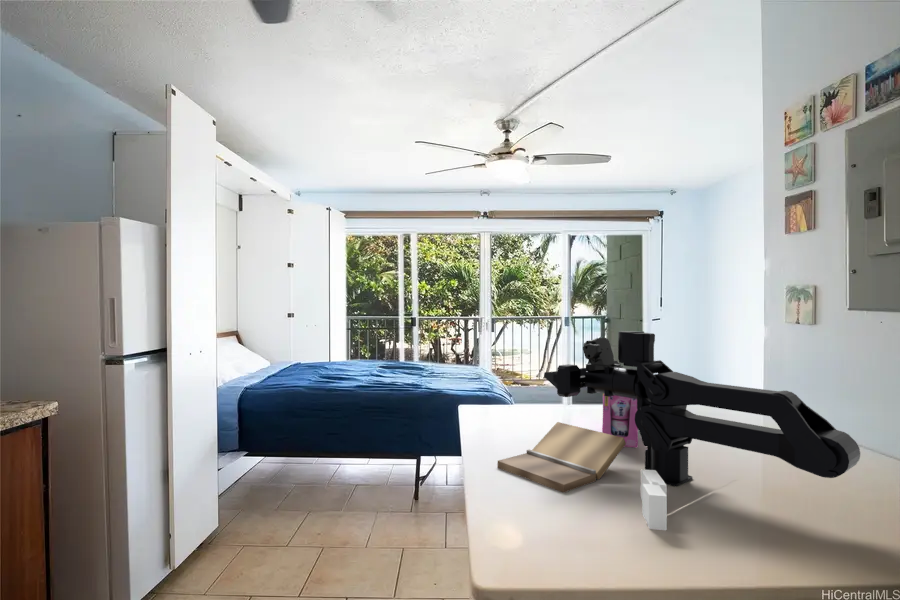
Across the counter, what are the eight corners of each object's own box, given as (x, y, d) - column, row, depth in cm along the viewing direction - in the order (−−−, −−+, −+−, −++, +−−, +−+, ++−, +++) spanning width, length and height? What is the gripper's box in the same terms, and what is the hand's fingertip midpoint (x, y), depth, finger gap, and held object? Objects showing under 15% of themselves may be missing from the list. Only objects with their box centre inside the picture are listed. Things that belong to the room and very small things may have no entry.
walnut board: (595, 481, 88) (595, 470, 88) (563, 493, 83) (563, 480, 83) (529, 459, 101) (529, 449, 101) (497, 468, 95) (497, 457, 95)
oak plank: (625, 443, 94) (623, 437, 94) (599, 479, 89) (596, 473, 88) (559, 427, 107) (557, 421, 106) (532, 457, 101) (530, 452, 101)
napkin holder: (638, 494, 84) (638, 460, 84) (708, 515, 76) (708, 478, 76) (589, 519, 74) (589, 481, 74) (663, 547, 66) (663, 504, 66)
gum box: (638, 450, 108) (638, 389, 108) (601, 447, 111) (601, 386, 111) (636, 426, 131) (637, 375, 131) (605, 423, 133) (605, 373, 134)
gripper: (645, 339, 104) (583, 335, 116) (592, 343, 92) (530, 338, 105) (645, 392, 104) (583, 383, 116) (592, 402, 92) (529, 391, 105)
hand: (558, 373), depth 110 cm, fingers open, 9 cm apart
